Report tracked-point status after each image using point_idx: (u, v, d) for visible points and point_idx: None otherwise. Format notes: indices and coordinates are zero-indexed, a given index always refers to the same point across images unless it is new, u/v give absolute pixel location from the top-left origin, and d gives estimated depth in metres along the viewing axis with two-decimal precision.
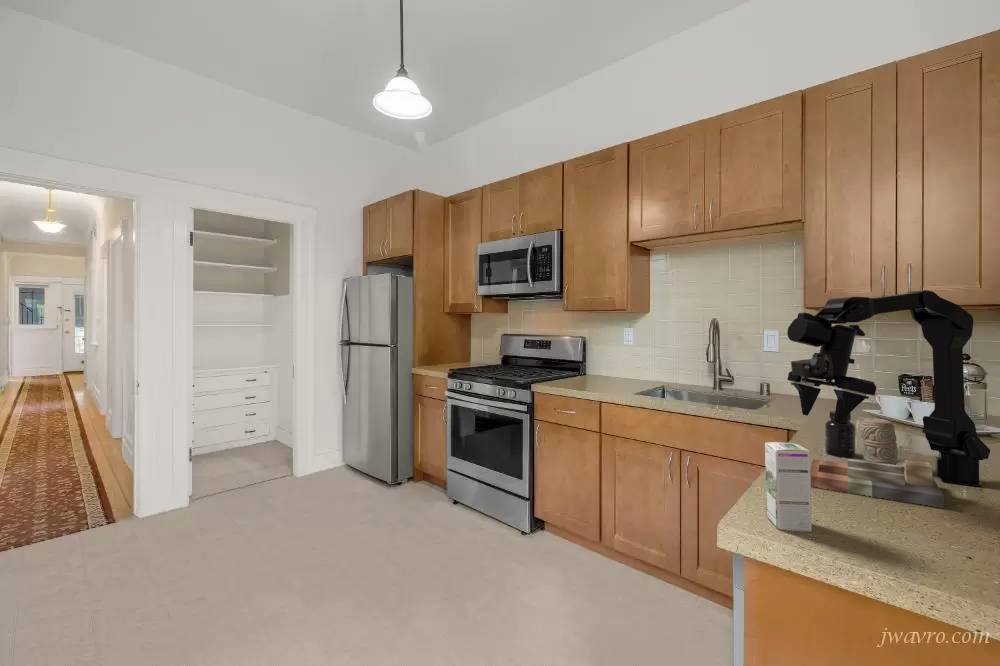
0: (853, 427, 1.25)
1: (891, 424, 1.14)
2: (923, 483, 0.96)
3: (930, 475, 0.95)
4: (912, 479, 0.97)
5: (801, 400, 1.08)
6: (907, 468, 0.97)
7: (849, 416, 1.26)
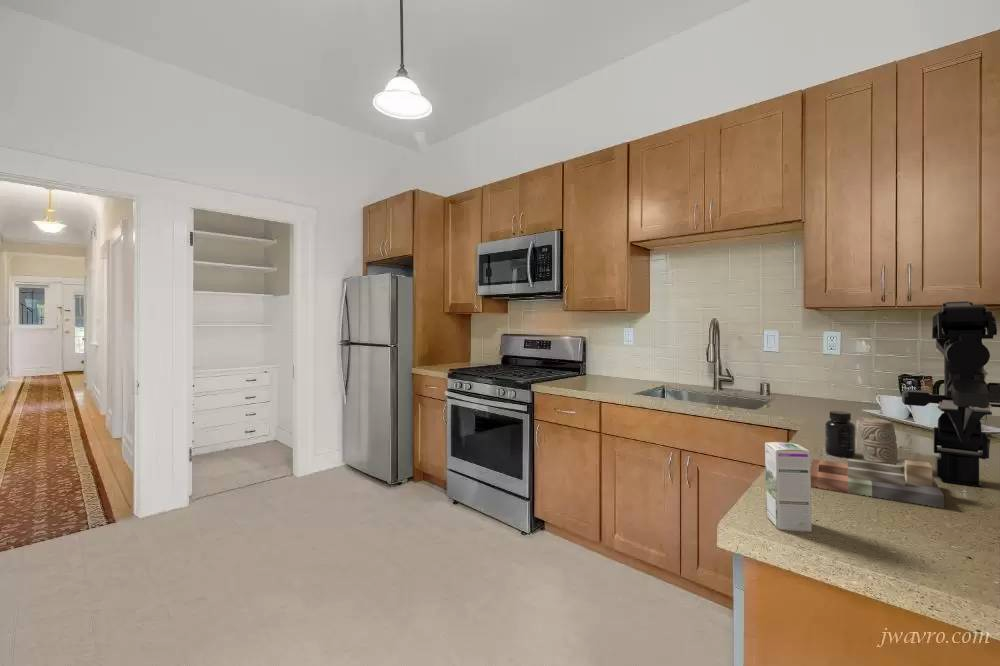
0: (853, 427, 1.25)
1: (891, 424, 1.14)
2: (923, 483, 0.96)
3: (930, 475, 0.95)
4: (912, 479, 0.97)
5: (959, 427, 0.93)
6: (907, 468, 0.97)
7: (849, 416, 1.26)
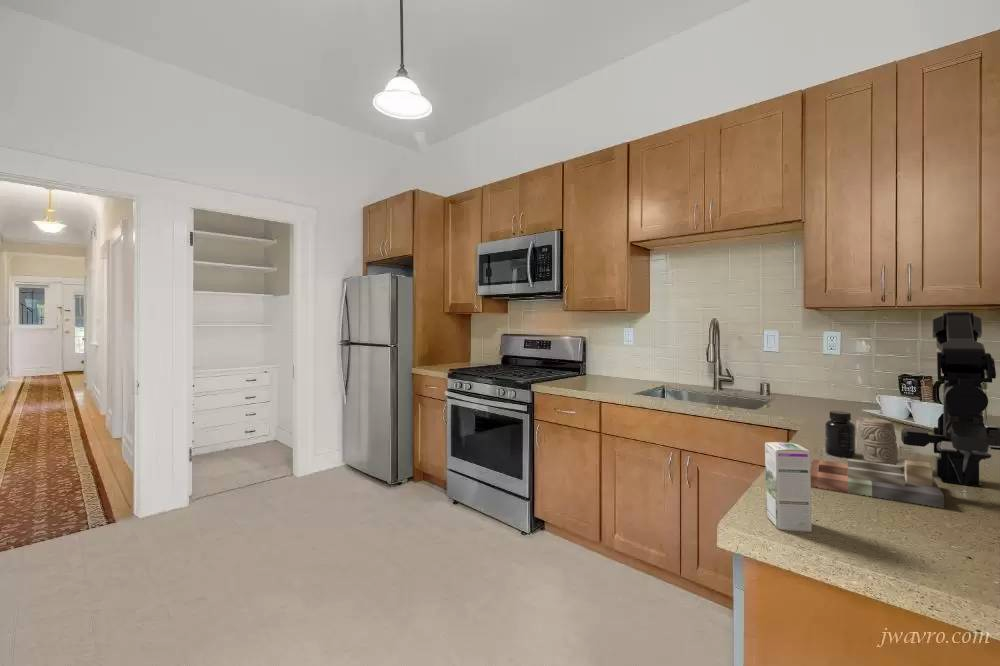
0: (853, 427, 1.25)
1: (891, 424, 1.14)
2: (923, 483, 0.96)
3: (930, 475, 0.95)
4: (912, 479, 0.97)
5: (958, 468, 0.93)
6: (907, 468, 0.97)
7: (849, 416, 1.26)
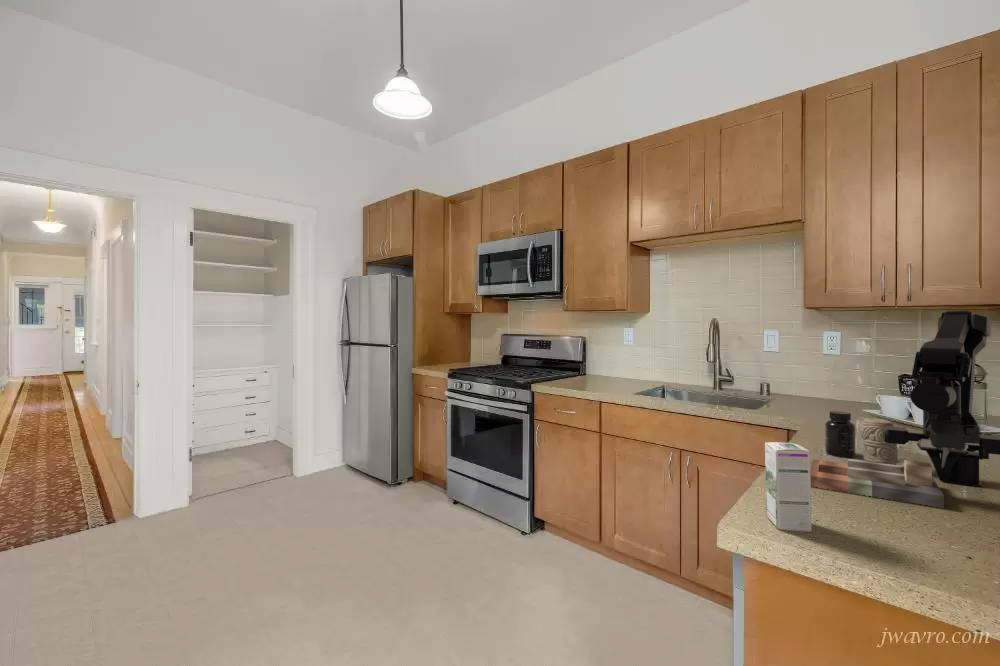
0: (853, 427, 1.25)
1: (891, 424, 1.14)
2: (923, 483, 0.96)
3: (930, 475, 0.95)
4: (912, 479, 0.97)
5: (937, 466, 0.95)
6: (907, 468, 0.97)
7: (849, 416, 1.26)
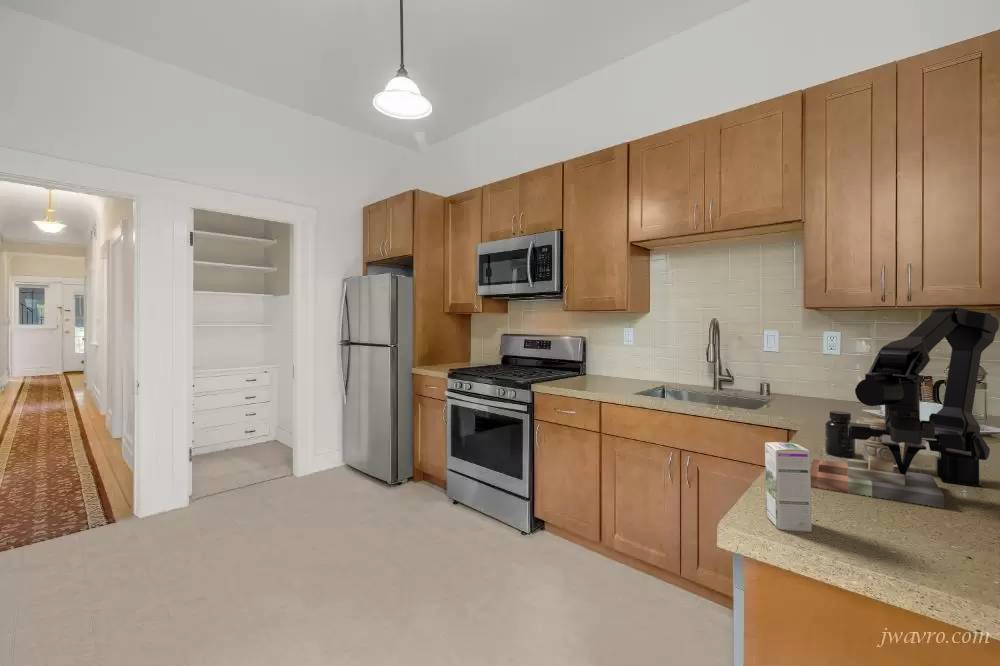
0: None
1: None
2: None
3: (891, 470, 0.99)
4: None
5: (898, 460, 0.99)
6: (870, 463, 1.01)
7: (849, 416, 1.26)
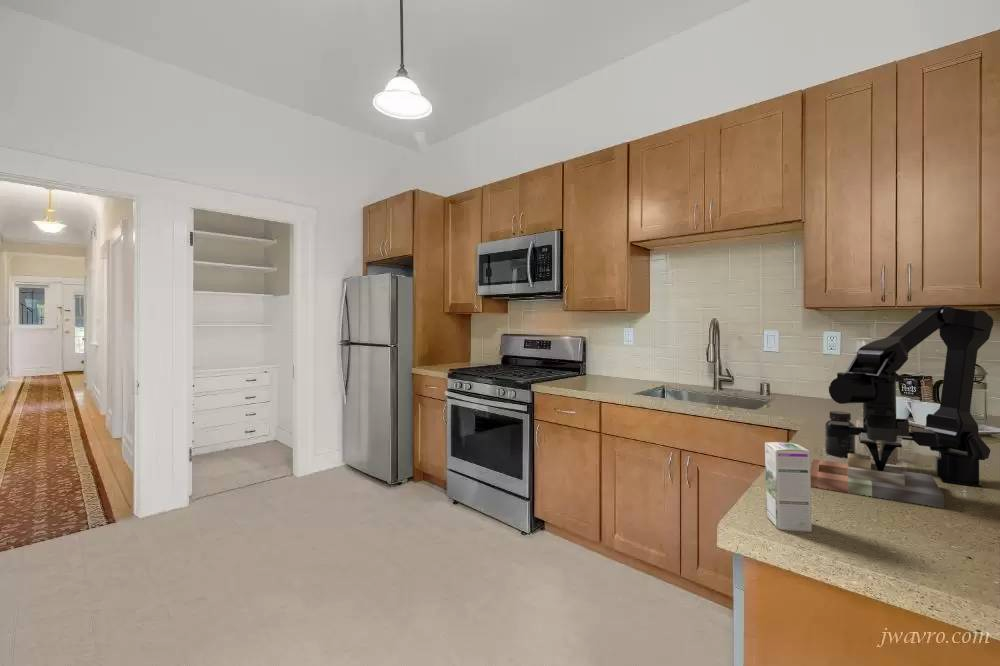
0: None
1: None
2: None
3: (869, 467, 1.01)
4: None
5: (875, 458, 1.01)
6: (848, 461, 1.03)
7: (849, 416, 1.26)
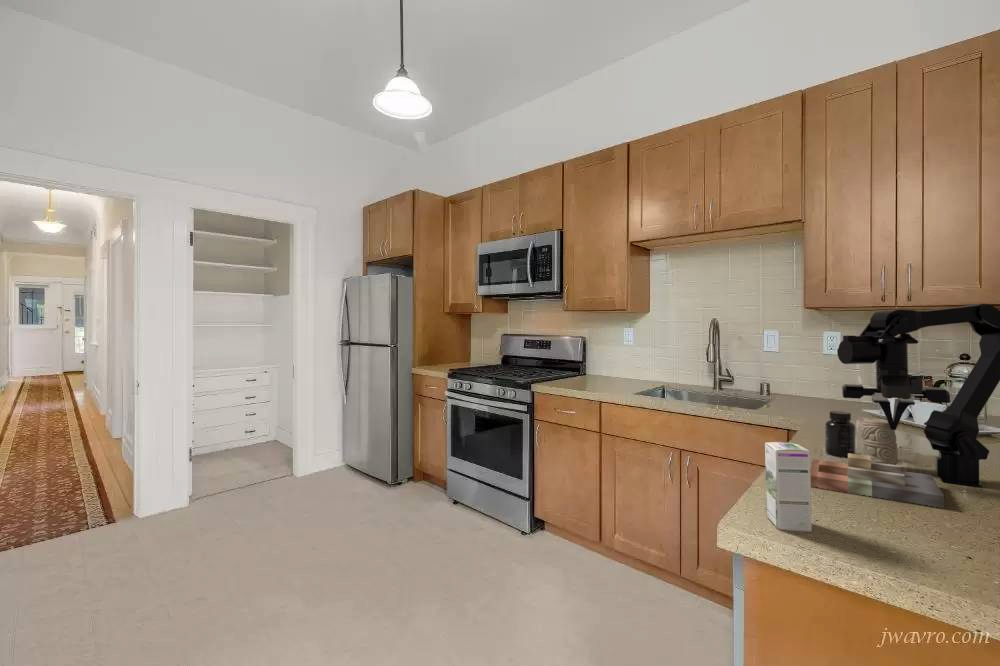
0: (853, 427, 1.25)
1: None
2: None
3: (869, 467, 1.01)
4: None
5: (888, 416, 1.06)
6: (848, 461, 1.03)
7: (849, 416, 1.26)
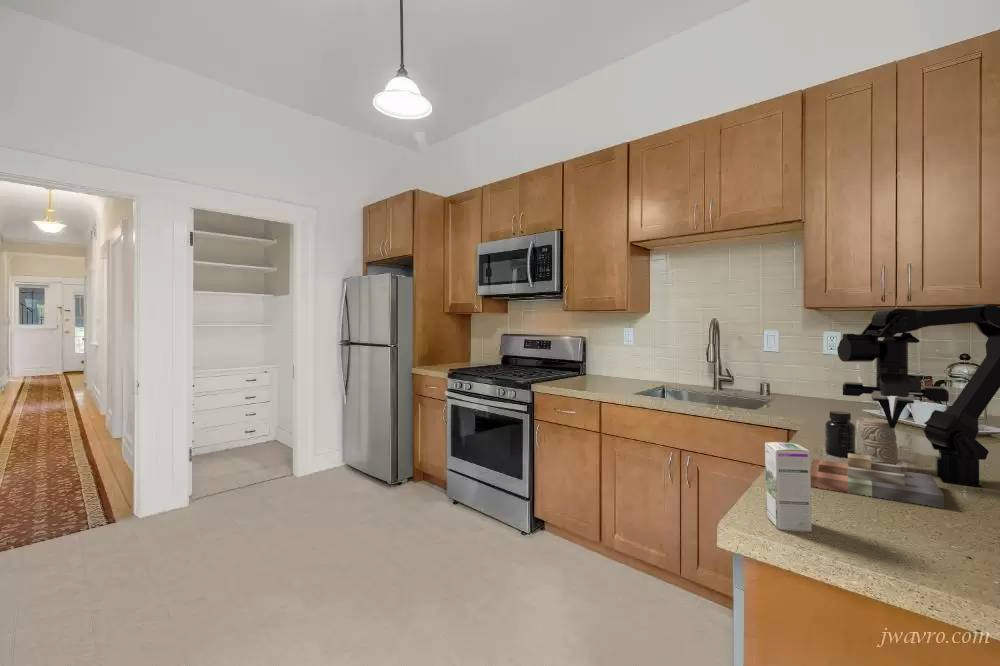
0: (853, 427, 1.25)
1: None
2: None
3: (869, 467, 1.01)
4: None
5: (887, 414, 1.07)
6: (848, 461, 1.03)
7: (849, 416, 1.26)
